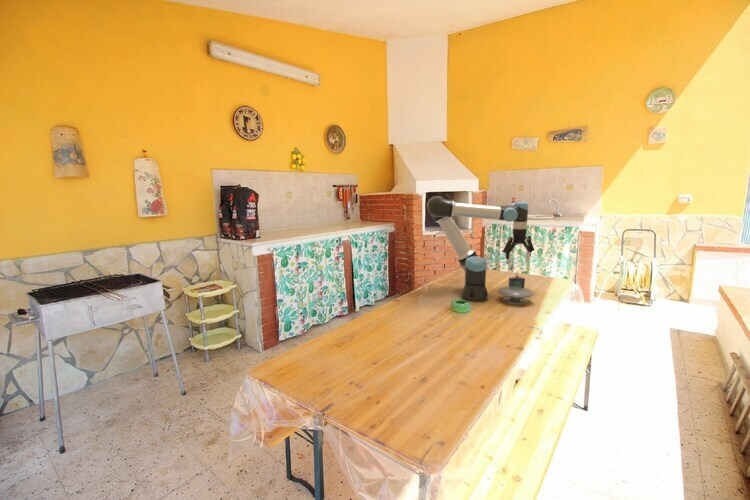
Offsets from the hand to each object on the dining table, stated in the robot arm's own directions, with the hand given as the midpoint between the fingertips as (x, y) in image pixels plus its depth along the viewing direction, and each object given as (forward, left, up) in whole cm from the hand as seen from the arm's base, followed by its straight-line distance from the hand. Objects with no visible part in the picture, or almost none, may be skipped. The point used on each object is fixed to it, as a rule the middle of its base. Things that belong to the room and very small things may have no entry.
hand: (517, 263), depth 216 cm
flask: (0, 0, -18) cm, 18 cm away
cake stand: (-12, -15, -18) cm, 26 cm away
